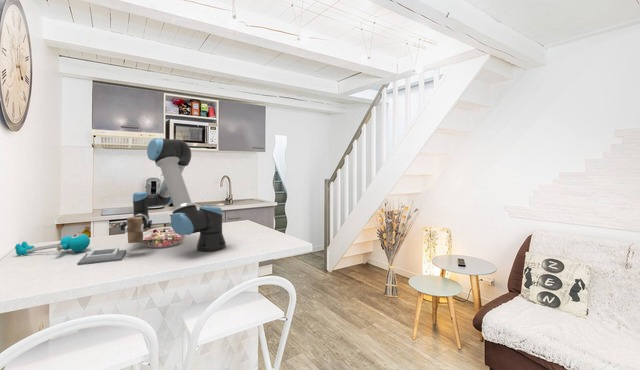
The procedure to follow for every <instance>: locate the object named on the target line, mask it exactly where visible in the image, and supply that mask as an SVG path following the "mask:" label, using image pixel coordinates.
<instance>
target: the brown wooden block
mask: <svg viewBox="0 0 640 370" xmlns="http://www.w3.org/2000/svg"><path fill="white" fill-rule="evenodd" d="M126 222H127V229H128V232H127V244H136V243H143V241H144V231H143V232H141V225H142V224H143V221H142V217H134V216H133V217H128V218H127V219H126Z"/></svg>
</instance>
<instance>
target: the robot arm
mask: <svg viewBox="0 0 640 370" xmlns="http://www.w3.org/2000/svg"><path fill="white" fill-rule="evenodd" d="M146 155H147V158H148V159H149V160H150V161H153V162H154V163H155V166H156V167H158V168H160V170H161V171H160V172H161V173H162V176H163V180H162V182H161V183H160V186H159V188H158V191H157V192H156V193H153V194H152V193H151V194H148V192H147V191H136V192H133V194H132V207H133V213H132V214H133V217H142V221H143V224H142V225H141V232H143V233H144V230H146V229H147V228H148V229H151V228H152V225H153V220H152V219H151V220H150V215H149V208H153V207H163V206H167V205H169V206H170V205H171V204H172V206H173V210H172V215H171V216H170V223H169V224H170V227H171V229H172V230H173V232H174V233H175V234H177V235H179V236H190V235H193V234H196V233H199V236H198V240H197V243H196V250H197V251H200V252H216V251H220V250H224V249H225V248H226V246H227V245H226V240H225V237H224V234H223V210H222V208H221V207H220V206H210V205H209V206H208V205H200V206H199V208H197V205H196V204H195V203H192V200H191V197H190V194H189V192H188V189H187V186H186V184H185V180H184V178H183V175H182V173H183V171H184V170H185V168H186V167H187V166H189V164H190V163H191V159H192V150H191V148H190V145H188V143H187V142H186V141H184V140H182V139H172V138H171V139H170V138H162V137H160V138H152V139H151V140H150V141H149V142H148V145H147V150H146ZM120 231H124V233H125V234H128V229H127V221H123V223H122V224H121V225H120Z"/></svg>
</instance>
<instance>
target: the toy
mask: <svg viewBox="0 0 640 370" xmlns="http://www.w3.org/2000/svg"><path fill="white" fill-rule="evenodd" d="M90 244H91V238H90V237H89V236H88V235H87V234H85V233H83V232H78V233H75V234H73V235H72V236H70V235H68V236H64V237H62V238H61V239H60V242H59V243H54V244H53V243H52V244H47V245H40V246H37V247H36V246H35V245H29V244H28V243H27V241H22V242H21V243H16V244H15V247H14V248H15V253H16V255H17V256H18V255H23V256H25V255H29V254H30V253H32V252H33V253H34V252H38V251H42V250H49V249H55V248H56V251H57V252H60V251H63V250H64V251H68V250H71V251H72V252H76V253H80V252H81V253H83V252H84V251H86V249H87V248H88V247H90Z"/></svg>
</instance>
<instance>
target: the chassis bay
mask: <svg viewBox="0 0 640 370" xmlns="http://www.w3.org/2000/svg"><path fill="white" fill-rule="evenodd" d="M126 253H127V250H126V249H123V250H120V247H111V248H102V249H101V248H100V249H91V251H89V252H88V253H86V254H84V255H83V257H81V259H80V260H78V261H77V266H82V265H91V264H100V263H110V262H111V263H112V262H118V261H120V262H121V261H122V260H123V258H124V257H125V255H126Z"/></svg>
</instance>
